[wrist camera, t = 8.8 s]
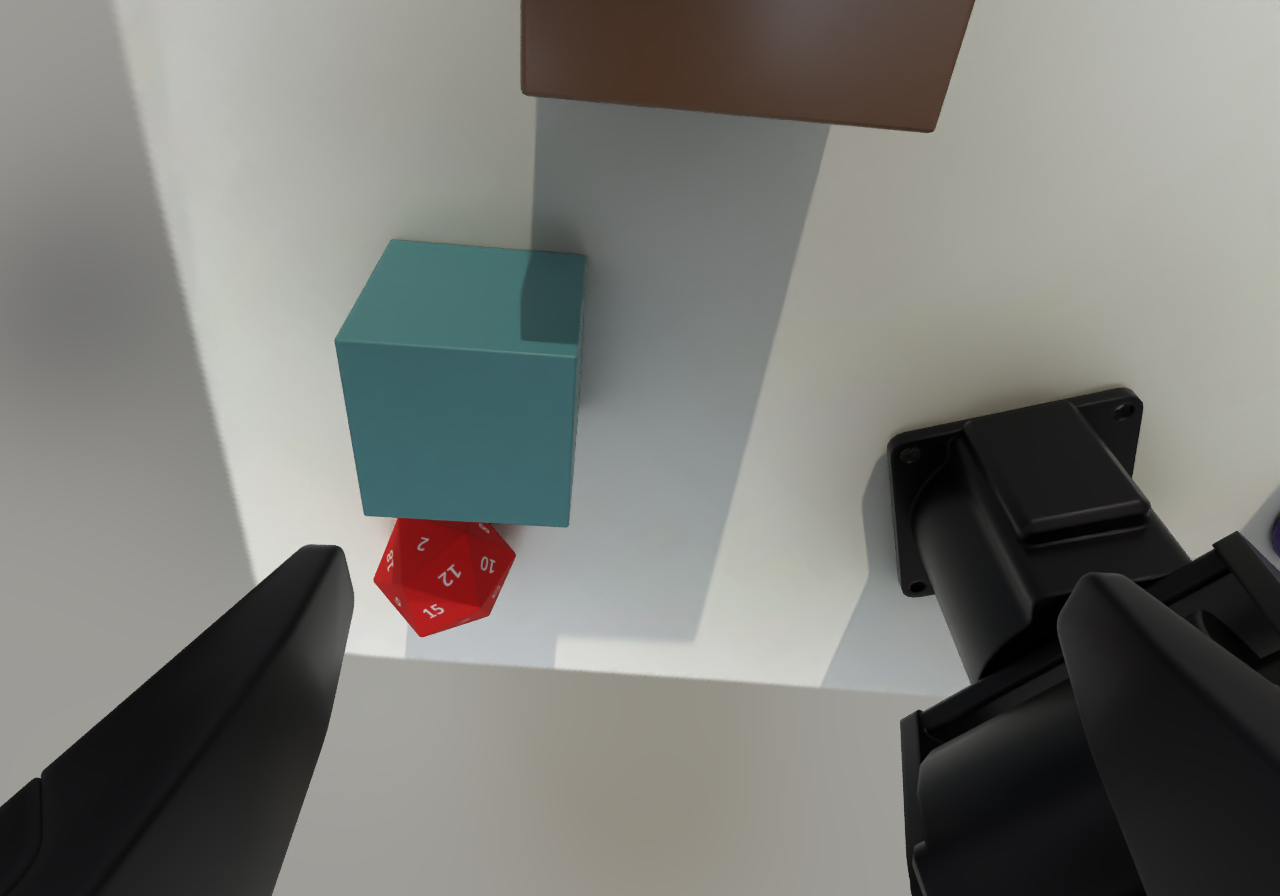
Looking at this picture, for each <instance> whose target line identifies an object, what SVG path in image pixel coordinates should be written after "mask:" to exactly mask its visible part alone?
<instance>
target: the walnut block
mask: <svg viewBox="0 0 1280 896" xmlns="http://www.w3.org/2000/svg"><path fill="white" fill-rule="evenodd" d="M974 2H975V0H521V91H522V93H523V94H525V95H526V96H534V97H544V98H555V99H566V100H576V101H587V102H598V103H609V104H619V105H630V106H641V107H652V108H662V109H673V110H684V111H695V112H705V113H716V114H727V115H738V116H748V117H759V118H770V119H780V120H791V121H802V122H813V123H823V124H834V125H845V126H856V127H866V128H877V129H888V130H899V131H909V132H920V133H930V132H933V131H934V129H935V128H936V124H937V121H938V118H939V115H940V112H941V108H942V105H943V102H944V99H945V95H946V92H947V89H948V86H949V83H950V79H951V76H952V73H953V70H954V67H955V63H956V60H957V57H958V54H959V51H960V47H961V44H962V41H963V38H964V35H965V31H966V28H967V25H968V22H969V18H970V15H971V12H972V9H973V6H974Z"/></svg>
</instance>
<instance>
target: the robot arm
mask: <svg viewBox="0 0 1280 896" xmlns="http://www.w3.org/2000/svg"><path fill="white" fill-rule="evenodd" d="M1123 404H1124V406H1123V407H1122V408H1120V409H1118V410H1116V411H1114V410H1115V409H1116V408H1117V407H1119V406H1121V405H1123ZM1142 413H1143V402H1142V401H1141V400H1140V399H1139V398H1138V397H1137V395H1136V394H1135V393H1134V392H1133V391H1132V390H1131V389H1128V388H1116V389H1111V390H1106V391H1102V392H1097V393H1092V394H1087V395H1082V396H1077V397H1073V398H1068V399H1063V400H1058V401H1053V402H1048V403H1044V404H1039V405H1034V406H1029V407H1024V408H1019V409H1015V410H1010V411H1005V412H1000V413H995V414H990V415H986V416H981V417H976V418H971V419H966V420H961V421H957V422H952V423H947V424H942V425H937V426H932V427H928V428H923V429H918V430H913V431H908V432H904V433H901V434H898V435H896V436H895V437H894V438H892V439H891V440H890V442H889V443H888V446H887V457H888V469H889V480H890V491H891V502H892V514H893V525H894V536H895V548H896V559H897V570H898V581H899V583H900V586H901V589H902V591H903V594H905V595H906V596H908V597H912V598H913V597H923V596H928V595H934V594H935V595H936V597H937V600H938V602H939V605H940V607H941V610H942V612H943V615H944V617H945V620H946V623H947V625H948V628H949V630H950V633H951V635H952V638H953V640H954V643H955V645H956V648H957V650H958V653H959V655H960V658H961V660H962V663H963V665H964V668H965V670H966V673H967V675H968V678H969V680H970V683H971V685H970V686H968V687H966V688H964V689H963V690H961V691H959V692H957V693H955V694H954V695H952V696H950V697H948V698H947V699H945V700H943V701H941V702H939V703H938V704H936V705H934V706H932V707H930V708H929V709H927V710H925V711H921V710H917V711H916V712H914V713H912V714H910V715H908V716H907V717H905V718H903V719H902V720H901V721H900V729H901V751H902V772H903V792H904V793H903V794H904V816H905V836H906V857H907V865H908V872H909V878H910V888H911V894H912V896H1280V572H1279V571H1278V570H1277V569H1276V568H1275V567H1274V566H1273V565H1272V564H1271V563H1270V562H1269V561H1268V560H1267V559H1266V558H1265V557H1264V556H1263V555H1262V554H1261V553H1260V552H1259V551H1258V550H1257V549H1256V548H1255V547H1254V546H1253V545H1252V544H1251V543H1250V542H1249V541H1248V540H1247V539H1246V538H1245V537H1244V536H1243V535H1242V534H1241V533H1239V532H1238V531H1236V532H1234V533H1232V534H1230V535H1229V536H1227V537H1225V538H1223V539H1221V540H1220V541H1218V542H1216V543H1214V544H1213V545H1212V546H1213V547H1214V548H1215V549H1213V550H1211V551H1209V552H1208V553H1206V554H1204V555H1202V556H1200V557H1199V558H1197V559H1195V560H1193V561H1192V560H1191V559H1190V558H1189V556H1188V555H1187V554H1186V552H1185V551H1184V550H1183V549H1182V547H1181V546H1180V545H1179V543H1178V542H1177V541H1176V539H1175V538H1174V537H1173V535H1172V534H1171V533H1170V532H1169V530H1168V529H1167V528H1166V526H1165V525H1164V524H1163V522H1162V521H1161V520H1160V518H1159V517H1158V516H1157V514H1156V513H1155V512H1154V511H1153V509H1152V508H1151V505H1150V502H1149V501H1148V499H1147V498H1146V497H1145V495H1144V494H1143V493H1142V491H1141V490H1140V489H1139V488H1138V486H1137V485H1136V484H1135V482H1134V481H1133V480H1132V475H1133V469H1134V462H1135V456H1136V450H1137V444H1138V438H1139V432H1140V425H1141V419H1142ZM908 448H913V449H912V450H911V451H910V452H908V453H902V452H903V451H904V450H905V449H908ZM915 582H916V583H915ZM353 609H354V591H353V587H352V583H351V578H350V574H349V570H348V566H347V562H346V558H345V554H344V552H343V550H342V548H341V547H339V546H336V545H313V544H310V545H306V546H304V547H302V548H300V549H299V550H298V551H297V552H295V553H294V554H293V555H292V556H291V557H290V558H288V559H287V560H286V561H285V562H284V563H283V564H281V565H280V566H279V567H278V568H277V569H276V570H275V571H273V572H272V573H271V574H270V575H269V576H268V577H266V578H265V579H264V580H263V581H262V582H261V583H260V584H258V585H257V586H256V587H255V588H254V589H253V590H251V591H250V592H249V593H248V594H247V595H246V596H244V597H243V598H242V599H241V600H240V601H239V602H238V603H236V604H235V605H234V606H233V607H232V608H231V609H229V610H228V611H227V612H226V613H225V614H224V615H222V616H221V617H220V618H219V619H218V620H217V621H216V622H214V623H213V624H212V625H211V626H210V627H209V628H207V629H206V630H205V631H204V632H203V633H202V634H200V635H199V636H198V637H197V638H196V639H195V640H194V641H192V642H191V643H190V644H189V645H188V646H187V647H185V649H183V650H182V651H181V652H180V653H179V654H177V655H176V656H175V657H174V658H173V659H172V660H170V661H169V662H168V663H167V664H166V665H165V666H163V667H162V668H161V669H160V670H159V671H158V672H157V673H156V674H154V675H153V676H152V677H151V678H150V679H148V680H147V681H146V682H145V683H144V684H143V685H141V687H139V688H138V689H137V690H136V691H135V692H133V693H132V694H131V695H130V696H129V697H128V698H126V699H125V700H124V701H123V702H122V703H121V704H119V705H118V706H117V707H116V708H115V709H114V710H113V711H112V712H110V713H109V714H108V715H107V716H106V717H104V718H103V719H102V720H101V721H100V722H99V723H98V724H96V725H95V726H94V727H93V728H92V729H91V730H89V731H88V732H87V733H86V734H85V735H84V736H82V737H81V738H80V739H79V740H78V741H77V742H76V743H75V744H73V745H72V746H71V747H70V748H69V749H67V750H66V751H65V752H64V753H63V754H62V755H61V756H59V757H58V758H57V759H56V760H55V761H54V762H52V763H51V764H50V765H49V766H48V767H47V768H45V769H44V770H43V772H42V774H41V778H34V779H33V780H31V781H30V782H29V783H28V784H26V786H24V787H23V788H22V789H21V790H20V791H18V792H17V793H16V794H15V795H14V796H13V797H11V798H10V799H9V800H8V801H7V802H6V803H4V804H3V805H2V806H1V807H0V896H272V893H273V890H274V887H275V884H276V881H277V878H278V875H279V872H280V870H281V866H282V863H283V861H284V858H285V855H286V852H287V849H288V846H289V843H290V840H291V837H292V834H293V831H294V828H295V825H296V822H297V819H298V816H299V814H300V811H301V807H302V805H303V802H304V799H305V796H306V793H307V790H308V787H309V784H310V781H311V778H312V775H313V772H314V769H315V766H316V763H317V760H318V758H319V755H320V752H321V748H322V745H323V742H324V739H325V736H326V732H327V729H328V725H329V721H330V717H331V712H332V708H333V703H334V699H335V694H336V689H337V685H338V680H339V675H340V670H341V666H342V661H343V656H344V652H345V647H346V642H347V638H348V633H349V628H350V624H351V619H352V614H353Z"/></svg>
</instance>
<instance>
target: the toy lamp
mask: <svg viewBox="0 0 1280 896" xmlns="http://www.w3.org/2000/svg"><path fill="white" fill-rule="evenodd" d="M1272 535H1273V538H1272V543H1273V548H1274V550H1275V552H1276V553H1277V555H1278V556H1279V557H1280V519H1279V521H1278V522H1277V525H1276V527H1275V528H1274V531H1273V533H1272Z"/></svg>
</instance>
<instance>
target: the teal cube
mask: <svg viewBox="0 0 1280 896" xmlns="http://www.w3.org/2000/svg"><path fill="white" fill-rule="evenodd" d="M586 261H587V257H586V256H585V255H577V254H564V253H552V252H539V251H527V250H515V249H502V248H490V247H477V246H465V245H452V244H440V243H427V242H415V241H403V240H391V241H390V242H389V244H388V246H387V248H386V249H385V251H384V253H383V255H382V257H381V258H380V260H379V262H378V264H377V265H376V267H375V269H374V271H373V273H372V274H371V276H370V278H369V280H368V281H367V283H366V285H365V287H364V288H363V290H362V292H361V294H360V296H359V297H358V299H357V301H356V303H355V304H354V306H353V308H352V310H351V312H350V313H349V315H348V317H347V319H346V320H345V322H344V324H343V326H342V327H341V329H340V331H339V333H338V335H337V336H336V338H335V346H336V352H337V358H338V364H339V370H340V376H341V381H342V387H343V393H344V399H345V405H346V411H347V417H348V423H349V429H350V435H351V441H352V446H353V452H354V458H355V464H356V470H357V476H358V482H359V488H360V494H361V500H362V505H363V511H364V515H365V516H377V517H395V518H412V519H429V520H447V521H464V522H482V523H499V524H516V525H534V526H551V527H568V526H569V518H570V506H571V494H572V482H573V470H574V458H575V446H576V434H577V422H578V410H579V392H580V373H581V354H582V336H583V317H584V299H585V280H586Z"/></svg>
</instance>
